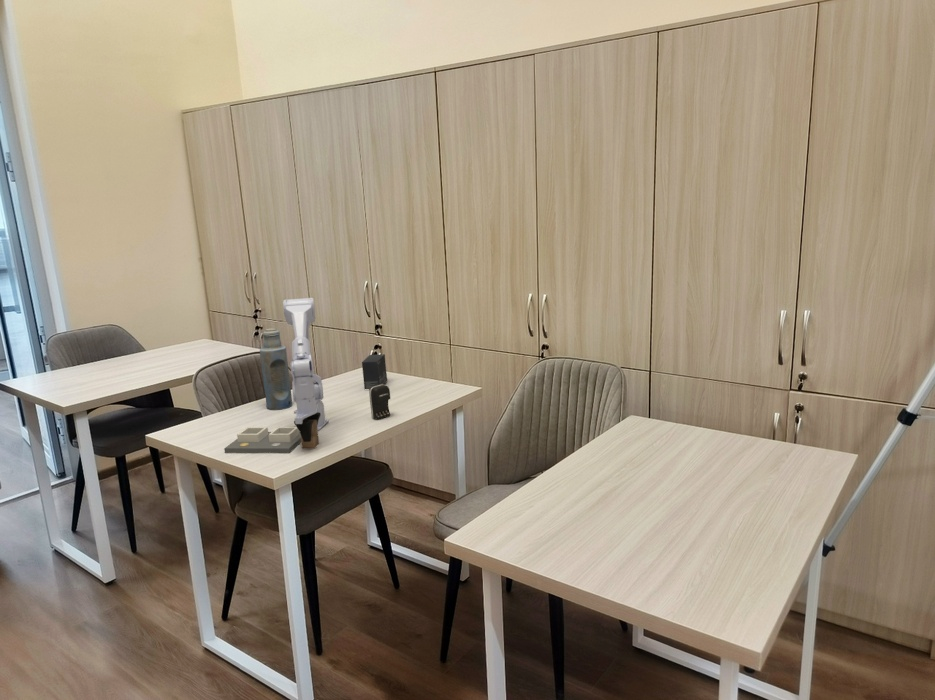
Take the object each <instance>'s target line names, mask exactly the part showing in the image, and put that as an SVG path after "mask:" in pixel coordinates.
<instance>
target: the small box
mask: <svg viewBox="0 0 935 700" xmlns="http://www.w3.org/2000/svg"><path fill="white" fill-rule="evenodd" d="M361 365H362V366H361V367H362V375H363V385H364V390H365V389H371V388H372V387H374V386H378V385H386V383H387V382H388V375H387V373H388V372H387V365H386V355H385V354H381V353H380V354H369V355H368V356H367V357H366V358H365V359H364V360H362V362H361ZM386 381H387V382H386ZM385 382H386V383H385Z"/></svg>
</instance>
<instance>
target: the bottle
mask: <svg viewBox="0 0 935 700" xmlns="http://www.w3.org/2000/svg"><path fill="white" fill-rule="evenodd" d="M280 334H281V333H280V330H278V329H277V328H272V327H271V328H266V329H265V331H263V333H262V338H263V347H260V349H259V356H260V363H261V365H260V366H261V374H262V382H263V386H264V387H263V388H264V396H265V403H266V409H268V410H272V411H278V410H279V409H280V410H284V409H288V408H290V407H291V406H293V399H292V398H293V394H292V387H291V380H290V371H289V370H290V369H289V362H288V354H287V346H285V345H283V344H282V341H281V340H282V339H281V336H280Z"/></svg>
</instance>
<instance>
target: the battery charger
mask: <svg viewBox="0 0 935 700" xmlns="http://www.w3.org/2000/svg"><path fill="white" fill-rule="evenodd" d="M368 392H369V403H370V410H371V412H370V414H371V419H372V420H381V418H382V419H384V417H385V418H388V417H390V416H391V411H390V409H389V400H391V391H390V388H389V386H388V385H386V384H384V385H378V386H374V387H372V388H371V389H370V390H368ZM387 416H388V417H387Z"/></svg>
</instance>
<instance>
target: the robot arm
mask: <svg viewBox="0 0 935 700" xmlns="http://www.w3.org/2000/svg"><path fill="white" fill-rule="evenodd" d="M314 299H315V298H313V297H306V298H305V297H304V298H303V297H302V298H293V299H292V298H290V299H284V300H283V301H282V303H283V304H282V306H283V307H282V309H283V310H282V311H283V315H284V316H283V317H284V319H285V322H286V324H288V325H291V326H292V327H293V333H294V339H293V340H292V341H291V359H292V360H291V361H290V372H291V373H290V374H291V377H292V382H291V383H292V387H291V391H292V398H293V399H292V400H293V402H294V403H295V405H296V409H295V410H294V411H293V414H295V417H294V421H293V422H294V425H295V427H297V428H298V429H299V432H300V434H301V436H302V439H303V441H304V442H310V441H311V428H312V424H313V421H314V420H317V429H318V431H320V430H322V428H323V427H324V426H325V425H326V424H327V423H328V422H329V420H328V419H327V420H326V413H325V405H324V402H323V399H324V387H323V382H322V380H323V379H322V378H321V376H320V375H318V374H316V373H315V371H314V368H315V367H314V361H313V358H312V352H311V351H312V350H311V348H312V347H311V341H310V331H309V330H310V325H311V324H312V323H315V321H316V320H315V319H316V307H315V300H314Z"/></svg>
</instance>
